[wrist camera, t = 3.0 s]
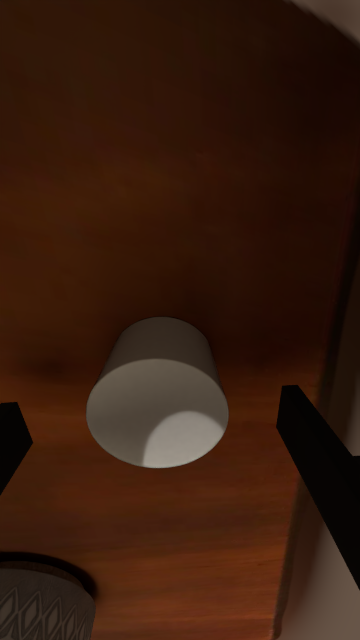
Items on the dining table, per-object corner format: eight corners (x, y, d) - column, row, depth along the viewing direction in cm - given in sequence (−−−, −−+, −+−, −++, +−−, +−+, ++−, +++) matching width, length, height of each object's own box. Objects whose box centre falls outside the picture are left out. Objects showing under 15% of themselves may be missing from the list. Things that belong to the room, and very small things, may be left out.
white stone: (136, 297, 14) (119, 333, 10) (233, 344, 16) (257, 395, 11) (95, 381, 17) (65, 443, 12) (182, 416, 18) (185, 482, 14)
